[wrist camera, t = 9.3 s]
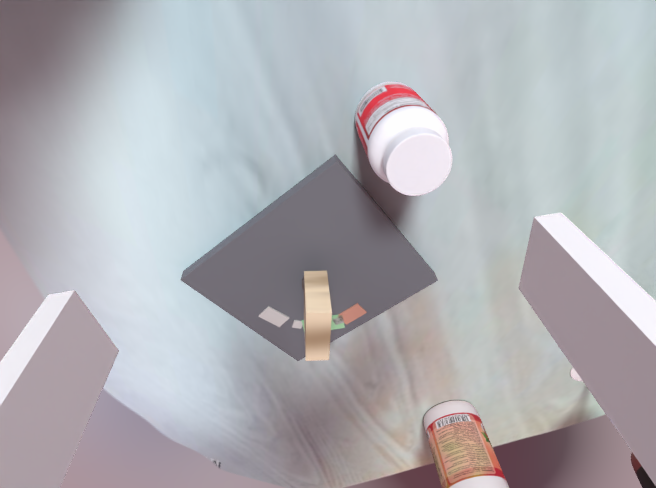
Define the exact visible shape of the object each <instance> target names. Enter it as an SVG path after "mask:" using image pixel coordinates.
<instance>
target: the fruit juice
mask: <svg viewBox="0 0 656 488" xmlns="http://www.w3.org/2000/svg"><path fill="white" fill-rule="evenodd" d="M424 427H425V430H426V434H427V437H428V441H429V444H430V448H431V451H432V455H433V458H434V462H435V465H436V469H437V472H438V476H439V479H440V482H441V486H442V488H509V486H508V484H507V481H506V479H505V477H504V475H503V472H502V470H501V467H500V465H499V462H498V460H497V458H496V455H495V453H494V450H493V448H492V445H491V443H490V441H489V438H488V436H487V433H486V431H485V429H484V426H483V424H482V421H481V419H480V417H479V414H478V412H477V410H476V408H475V407H474V406H473V405H472V404H471V403H469V402H466V401H460V400H454V401H447V402H443V403H440V404H438V405H436V406H434V407H432V408H431V409H430V410H429V411H428V412H427V413H426V414H425V416H424Z"/></svg>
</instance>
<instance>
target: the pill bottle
mask: <svg viewBox="0 0 656 488" xmlns="http://www.w3.org/2000/svg"><path fill="white" fill-rule="evenodd" d="M355 125H356V129H357V133H358V135H359V137H360V140H361V142H362V145H363V147H364V150H365V152H366V155H367V158H368V160H369V163H370V165H371V167H372V169H373V170H374V172H375V173H376V174H377V175H378V176H379V177H380V178H381V179H382V180H384V181H386V182H387V183H390V185H391V186H392V187H393V188H394V189H395V190H396V191H398V192H399V193H402V194H404V195H408V196H419V195H424V194H427V193H429V192H431V191H433V190H435V189H436V188H437V187H439V186H440V185H441V184H442V183H443V182H444V181H445V179H446V178H447V176H448V174H449V172H450V170H451V166H452V152H451V149H450V147H449V136H448V132H447V129H446V126H445V124H444V123H443V121H442V120H441V119H440V117H439V116H438V115H437V114H436V113H435V112H434V111H433V110H432V109H431V108H430V107H429V106H428V105H427V104H426V103H425V102H424V101H423V99H422V98H421V97H420V96H419V95H418V94H417V93H416V92H415V91H414V90H413V89H411V88H410V87H409V86H407V85H405V84H403V83H399V82H384V83H381V84H378V85H376V86H374V87H372V88H371V89H370V90H369V91H367V92H366V93H365V95H364V96H363V97H362V98H361V100H360V102H359V104H358V106H357V109H356V113H355Z"/></svg>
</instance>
